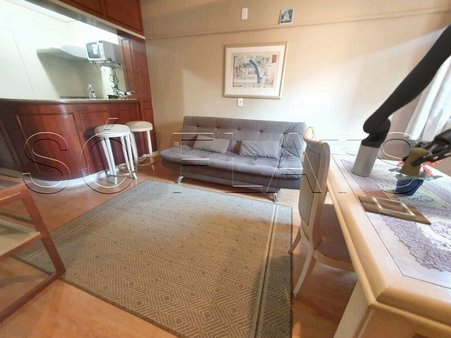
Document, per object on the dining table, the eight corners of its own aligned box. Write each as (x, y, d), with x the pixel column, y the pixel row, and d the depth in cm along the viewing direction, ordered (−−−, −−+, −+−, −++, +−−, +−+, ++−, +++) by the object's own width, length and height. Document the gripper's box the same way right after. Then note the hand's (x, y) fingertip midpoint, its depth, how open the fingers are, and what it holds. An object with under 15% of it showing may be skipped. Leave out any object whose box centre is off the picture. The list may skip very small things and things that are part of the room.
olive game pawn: (422, 177, 74) (435, 150, 70) (405, 175, 75) (416, 149, 71) (411, 171, 79) (422, 146, 75) (395, 170, 80) (405, 145, 76)
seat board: (357, 197, 84) (359, 193, 83) (413, 208, 77) (415, 204, 77) (365, 211, 73) (367, 207, 73) (430, 225, 67) (433, 220, 66)
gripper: (436, 125, 75) (391, 151, 81) (472, 131, 62) (415, 162, 68) (445, 139, 76) (400, 164, 83) (482, 148, 63) (426, 176, 70)
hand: (407, 163), depth 75 cm, fingers closed on olive game pawn, 4 cm apart
